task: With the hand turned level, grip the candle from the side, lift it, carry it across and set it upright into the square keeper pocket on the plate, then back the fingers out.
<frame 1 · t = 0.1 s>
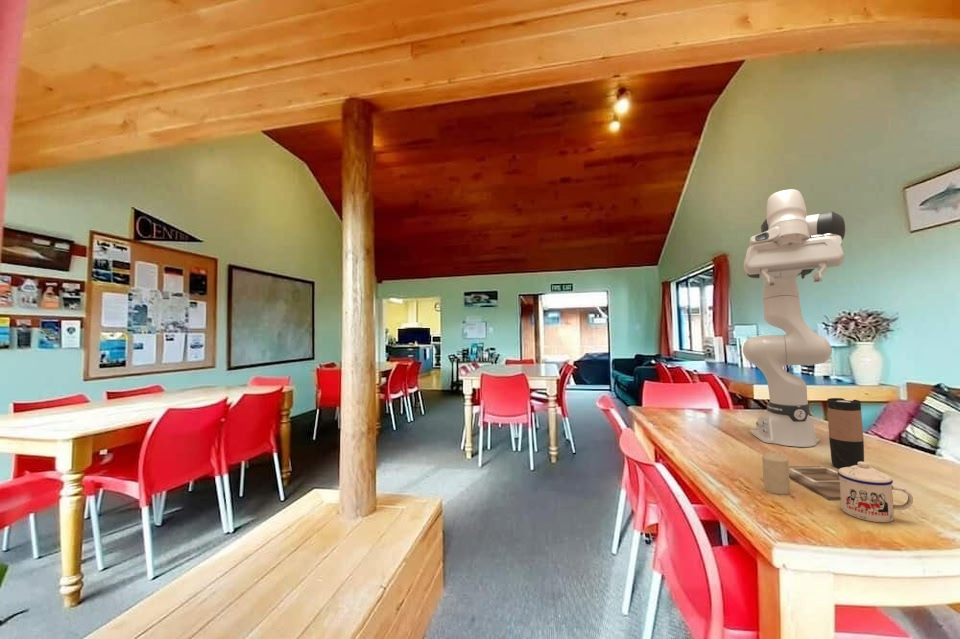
hand: (793, 282, 102), 54 cm above the table, tool tilted 30°, fingers open, 8 cm apart
candle: (777, 491, 106), on the table
travel mug: (847, 468, 120), on the table
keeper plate: (821, 481, 110), on the table
teacup with lid: (875, 516, 90), on the table
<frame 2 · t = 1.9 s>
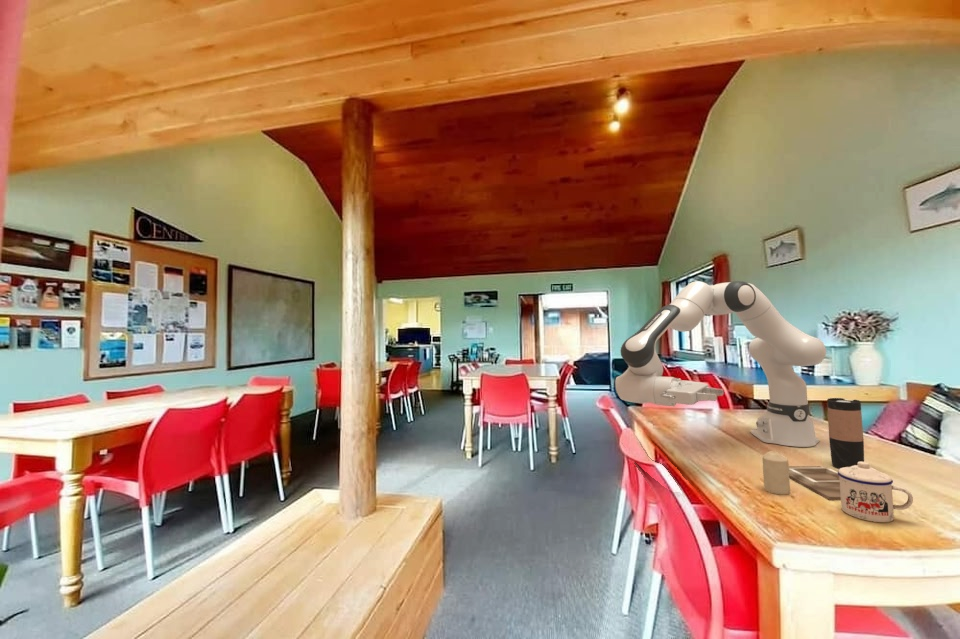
hand: (720, 394, 114), 24 cm above the table, tool horizontal, fingers open, 8 cm apart
nothing on the table moved.
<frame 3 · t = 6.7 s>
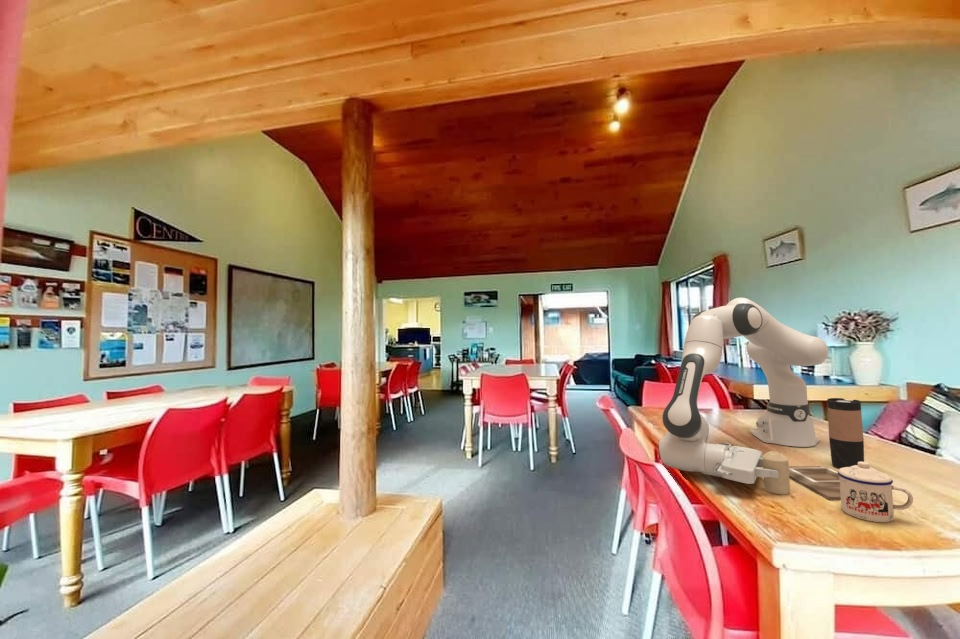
hand: (779, 470, 105), 6 cm above the table, tool horizontal, fingers closed on candle, 5 cm apart
candle: (777, 491, 106), on the table, touching gripper
everything else where it was.
when the fingers open (7 cm above the table, at t = 12.9 s): candle moves 1 cm, resting on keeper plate.
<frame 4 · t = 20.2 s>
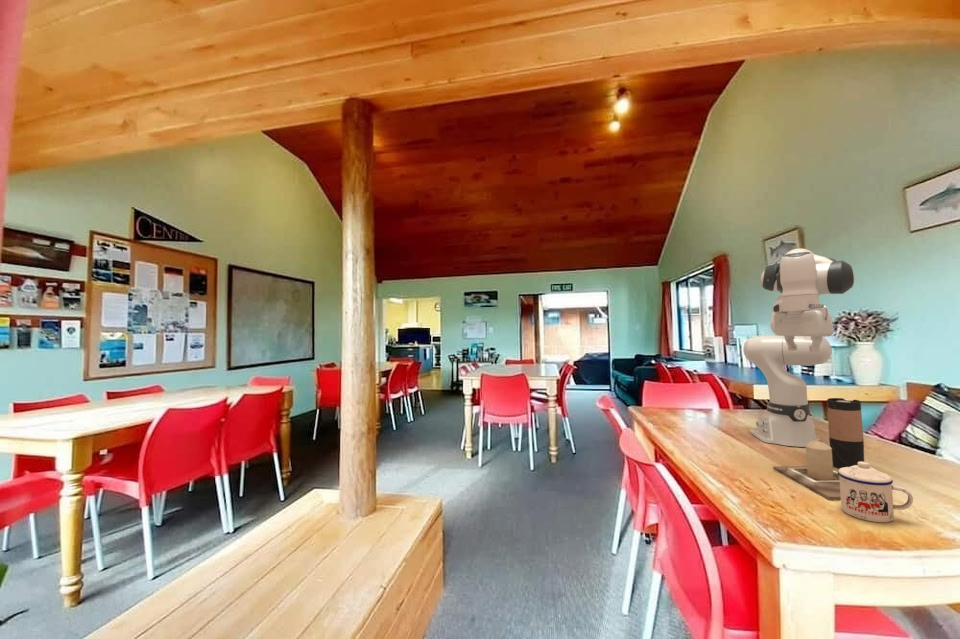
hand: (803, 351, 121), 35 cm above the table, tool pointing down, fingers open, 8 cm apart
candle: (820, 478, 111), point 1 cm above the table, touching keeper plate
everything else where it was.
at the end: candle 0.6 cm off-centre on the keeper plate, point 0.6 cm above the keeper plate's base; candle tilted 0°; the gripper is holding nothing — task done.
